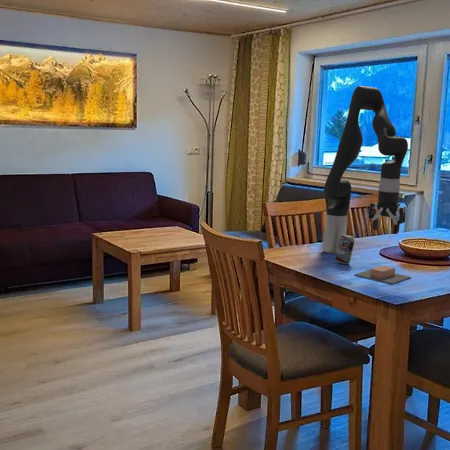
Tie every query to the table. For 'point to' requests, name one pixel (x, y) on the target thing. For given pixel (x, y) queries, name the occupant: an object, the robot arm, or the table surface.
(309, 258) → the table surface
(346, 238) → the beverage can
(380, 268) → the tan rectangular block
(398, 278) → the mat
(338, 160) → the robot arm
